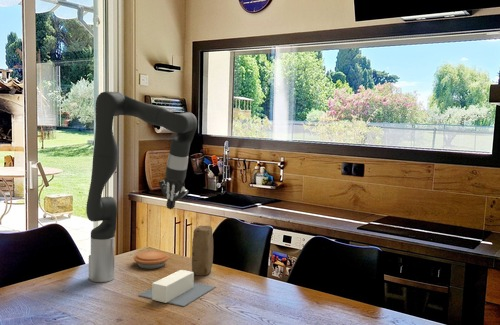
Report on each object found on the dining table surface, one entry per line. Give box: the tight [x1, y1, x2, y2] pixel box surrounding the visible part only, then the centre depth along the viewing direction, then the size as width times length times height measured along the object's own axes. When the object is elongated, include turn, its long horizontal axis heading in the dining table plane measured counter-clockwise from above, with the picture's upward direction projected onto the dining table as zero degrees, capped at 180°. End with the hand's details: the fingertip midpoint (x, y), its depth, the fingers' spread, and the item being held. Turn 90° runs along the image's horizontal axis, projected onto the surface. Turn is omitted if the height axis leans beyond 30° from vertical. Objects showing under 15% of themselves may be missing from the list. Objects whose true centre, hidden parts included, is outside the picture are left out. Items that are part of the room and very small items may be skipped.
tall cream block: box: [151, 269, 195, 304], centre depth 170 cm, size 6×6×18 cm
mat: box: [137, 281, 217, 308], centre depth 173 cm, size 20×22×1 cm
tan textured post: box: [191, 225, 214, 276], centre depth 196 cm, size 11×8×20 cm
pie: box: [133, 250, 170, 270], centre depth 205 cm, size 15×16×5 cm
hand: (170, 208), depth 173 cm, fingers closed
